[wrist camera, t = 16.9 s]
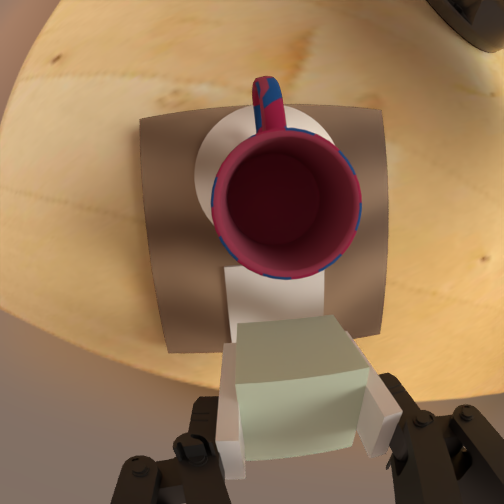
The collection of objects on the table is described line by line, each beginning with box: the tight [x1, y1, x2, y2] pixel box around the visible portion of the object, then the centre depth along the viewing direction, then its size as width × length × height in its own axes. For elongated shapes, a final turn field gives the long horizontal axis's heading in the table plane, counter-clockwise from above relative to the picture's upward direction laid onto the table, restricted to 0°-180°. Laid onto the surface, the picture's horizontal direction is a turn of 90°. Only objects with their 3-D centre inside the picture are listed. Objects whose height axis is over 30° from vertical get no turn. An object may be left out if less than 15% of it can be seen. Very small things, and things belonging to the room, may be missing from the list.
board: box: [140, 104, 388, 353], centre depth 20 cm, size 18×18×2 cm
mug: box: [211, 76, 362, 280], centre depth 15 cm, size 7×10×7 cm
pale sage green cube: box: [235, 315, 370, 461], centre depth 12 cm, size 5×5×5 cm
